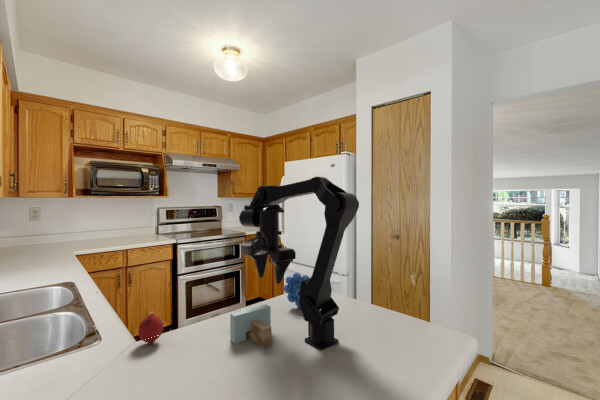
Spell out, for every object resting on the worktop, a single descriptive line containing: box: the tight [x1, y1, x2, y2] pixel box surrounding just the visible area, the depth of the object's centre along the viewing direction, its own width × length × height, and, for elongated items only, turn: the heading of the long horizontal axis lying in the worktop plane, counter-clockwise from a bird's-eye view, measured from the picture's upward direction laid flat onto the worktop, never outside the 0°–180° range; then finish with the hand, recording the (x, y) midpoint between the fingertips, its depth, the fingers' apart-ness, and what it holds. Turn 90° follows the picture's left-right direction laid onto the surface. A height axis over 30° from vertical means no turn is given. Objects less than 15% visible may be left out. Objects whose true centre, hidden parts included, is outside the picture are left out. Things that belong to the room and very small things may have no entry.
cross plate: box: [229, 304, 272, 344], centre depth 79 cm, size 2×11×7 cm, turn 129°
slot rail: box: [234, 309, 272, 349], centre depth 79 cm, size 16×2×4 cm, turn 39°
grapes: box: [283, 272, 310, 309], centre depth 99 cm, size 12×7×12 cm, turn 85°
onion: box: [137, 311, 165, 344], centre depth 75 cm, size 6×6×8 cm
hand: (269, 280), depth 87 cm, fingers open, 9 cm apart
